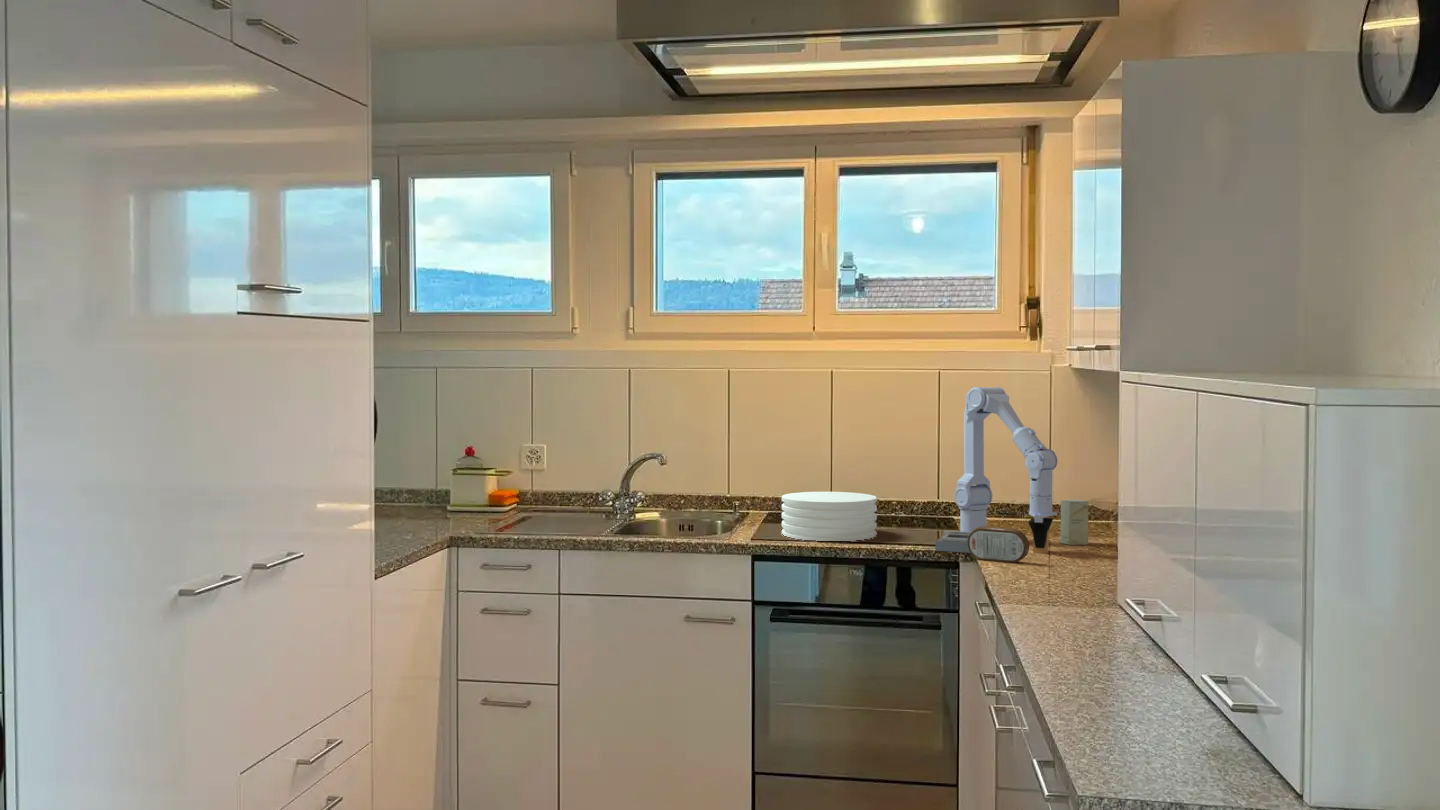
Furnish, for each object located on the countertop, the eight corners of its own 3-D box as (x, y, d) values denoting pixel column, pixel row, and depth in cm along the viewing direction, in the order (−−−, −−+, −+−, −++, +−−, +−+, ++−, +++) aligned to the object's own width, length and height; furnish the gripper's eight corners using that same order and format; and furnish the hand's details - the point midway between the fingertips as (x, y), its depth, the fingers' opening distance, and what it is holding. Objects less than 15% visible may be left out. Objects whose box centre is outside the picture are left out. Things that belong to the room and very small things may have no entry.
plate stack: (883, 542, 272) (883, 502, 271) (783, 542, 272) (783, 501, 272) (869, 528, 300) (869, 491, 299) (779, 528, 300) (779, 491, 300)
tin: (1029, 562, 239) (1029, 529, 239) (1026, 564, 237) (1026, 530, 236) (969, 557, 247) (969, 524, 247) (965, 559, 244) (965, 526, 244)
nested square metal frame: (943, 544, 268) (943, 530, 268) (980, 546, 264) (980, 532, 264) (935, 550, 257) (935, 536, 257) (973, 553, 253) (973, 538, 253)
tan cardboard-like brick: (1034, 550, 257) (1034, 528, 257) (1048, 551, 256) (1048, 528, 256) (1033, 552, 254) (1033, 529, 254) (1047, 553, 253) (1047, 530, 252)
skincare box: (1069, 545, 266) (1069, 501, 265) (1059, 543, 270) (1060, 499, 270) (1089, 544, 267) (1089, 500, 267) (1079, 542, 271) (1079, 498, 271)
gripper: (1055, 498, 246) (1054, 551, 247) (1058, 493, 260) (1058, 543, 260) (1026, 497, 249) (1026, 550, 249) (1031, 492, 262) (1031, 541, 263)
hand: (1040, 546), depth 255 cm, fingers open, 4 cm apart
